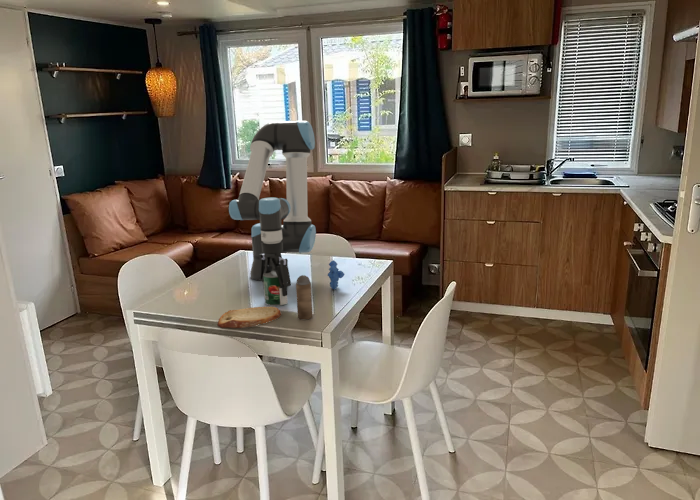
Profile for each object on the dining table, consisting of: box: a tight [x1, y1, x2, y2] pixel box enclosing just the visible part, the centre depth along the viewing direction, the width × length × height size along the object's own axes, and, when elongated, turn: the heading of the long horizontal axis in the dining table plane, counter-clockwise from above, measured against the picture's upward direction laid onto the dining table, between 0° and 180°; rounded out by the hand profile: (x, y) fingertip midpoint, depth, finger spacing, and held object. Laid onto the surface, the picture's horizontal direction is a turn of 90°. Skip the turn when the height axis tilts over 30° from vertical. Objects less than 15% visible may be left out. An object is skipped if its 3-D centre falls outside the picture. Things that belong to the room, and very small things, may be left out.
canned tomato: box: [263, 271, 281, 307], centre depth 204 cm, size 8×8×11 cm
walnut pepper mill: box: [295, 274, 314, 320], centre depth 188 cm, size 5×5×15 cm
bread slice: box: [217, 306, 282, 329], centre depth 189 cm, size 18×18×4 cm
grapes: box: [327, 260, 345, 291], centre depth 217 cm, size 12×7×12 cm, turn 1°
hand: (276, 301), depth 205 cm, fingers open, 9 cm apart
